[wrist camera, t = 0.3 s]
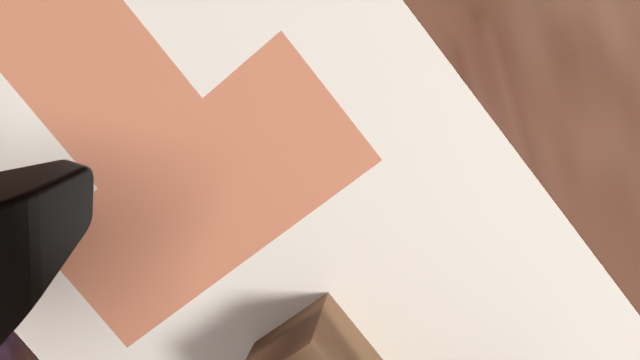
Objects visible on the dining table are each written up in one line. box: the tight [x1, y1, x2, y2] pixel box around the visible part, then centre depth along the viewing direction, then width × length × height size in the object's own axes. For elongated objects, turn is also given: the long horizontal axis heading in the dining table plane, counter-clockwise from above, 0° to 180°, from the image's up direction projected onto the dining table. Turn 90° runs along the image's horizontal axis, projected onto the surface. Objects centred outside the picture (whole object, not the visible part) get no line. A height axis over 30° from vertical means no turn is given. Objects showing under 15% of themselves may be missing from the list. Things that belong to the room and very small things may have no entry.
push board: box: [0, 0, 640, 360], centre depth 25 cm, size 22×38×1 cm, turn 39°
